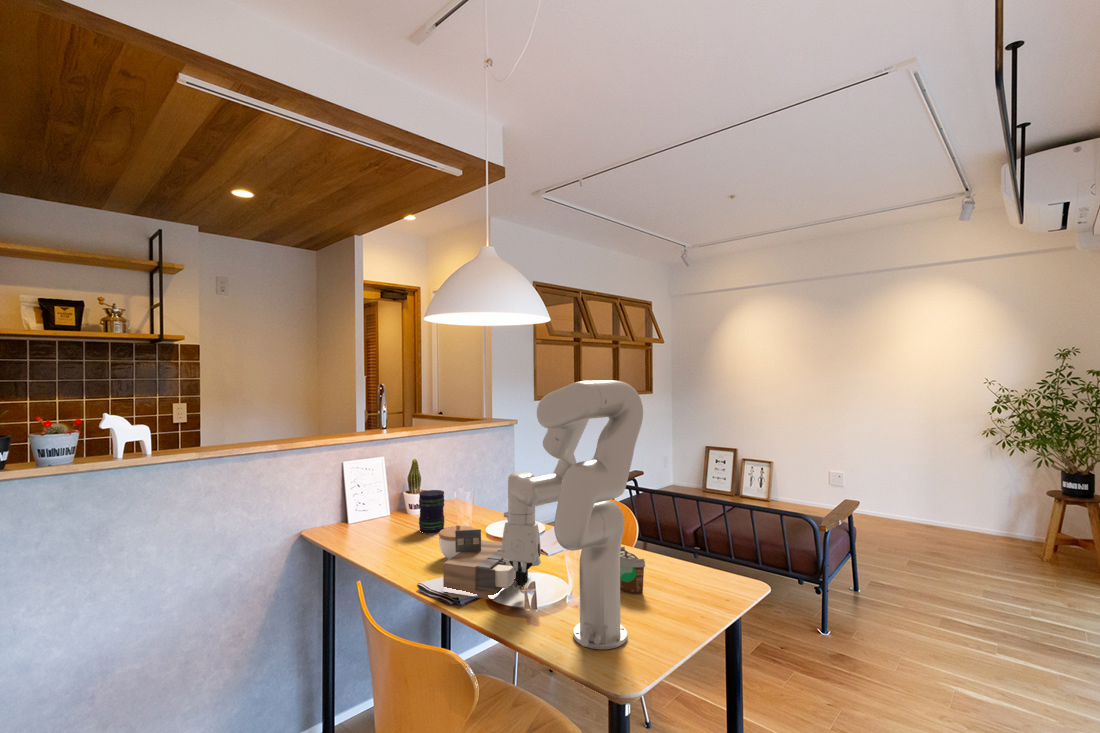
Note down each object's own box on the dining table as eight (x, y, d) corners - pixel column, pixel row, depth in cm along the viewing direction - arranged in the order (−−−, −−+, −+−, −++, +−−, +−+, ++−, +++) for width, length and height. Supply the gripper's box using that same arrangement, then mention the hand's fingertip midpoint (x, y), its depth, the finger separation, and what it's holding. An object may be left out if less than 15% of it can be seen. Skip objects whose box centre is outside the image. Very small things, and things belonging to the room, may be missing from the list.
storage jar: (415, 534, 203) (415, 495, 203) (422, 526, 213) (422, 489, 213) (441, 534, 203) (441, 495, 203) (447, 526, 213) (447, 489, 213)
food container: (605, 582, 154) (605, 548, 155) (623, 579, 157) (623, 545, 157) (625, 599, 143) (625, 562, 143) (645, 595, 145) (645, 559, 145)
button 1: (507, 588, 143) (507, 572, 143) (490, 585, 145) (490, 569, 145) (513, 582, 147) (513, 566, 147) (497, 579, 149) (497, 564, 149)
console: (493, 600, 143) (492, 545, 143) (438, 591, 148) (438, 539, 149) (523, 571, 163) (523, 524, 164) (475, 565, 169) (475, 519, 169)
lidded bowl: (432, 557, 176) (432, 524, 177) (464, 549, 185) (464, 518, 185) (450, 568, 167) (450, 533, 167) (484, 559, 175) (484, 525, 175)
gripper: (491, 519, 144) (491, 586, 143) (542, 524, 139) (542, 593, 138) (502, 512, 151) (502, 576, 150) (551, 516, 146) (551, 583, 145)
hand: (521, 584), depth 144 cm, fingers closed
